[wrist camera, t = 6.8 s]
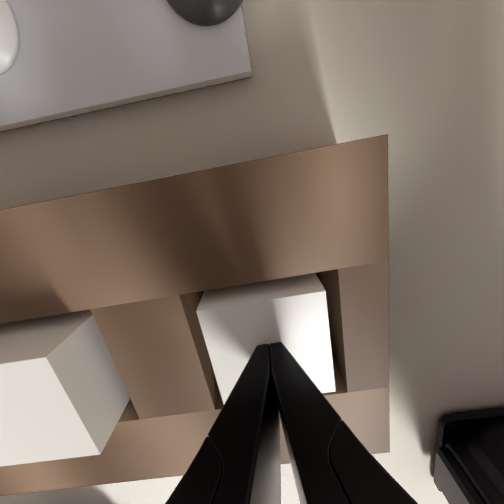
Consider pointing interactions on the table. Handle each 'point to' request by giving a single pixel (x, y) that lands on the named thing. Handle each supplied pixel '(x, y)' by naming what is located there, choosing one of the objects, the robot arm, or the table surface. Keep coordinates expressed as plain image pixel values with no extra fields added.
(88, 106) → the pattern card
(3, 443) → the middle button
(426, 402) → the table surface
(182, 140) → the table surface
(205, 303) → the button
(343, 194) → the button board
